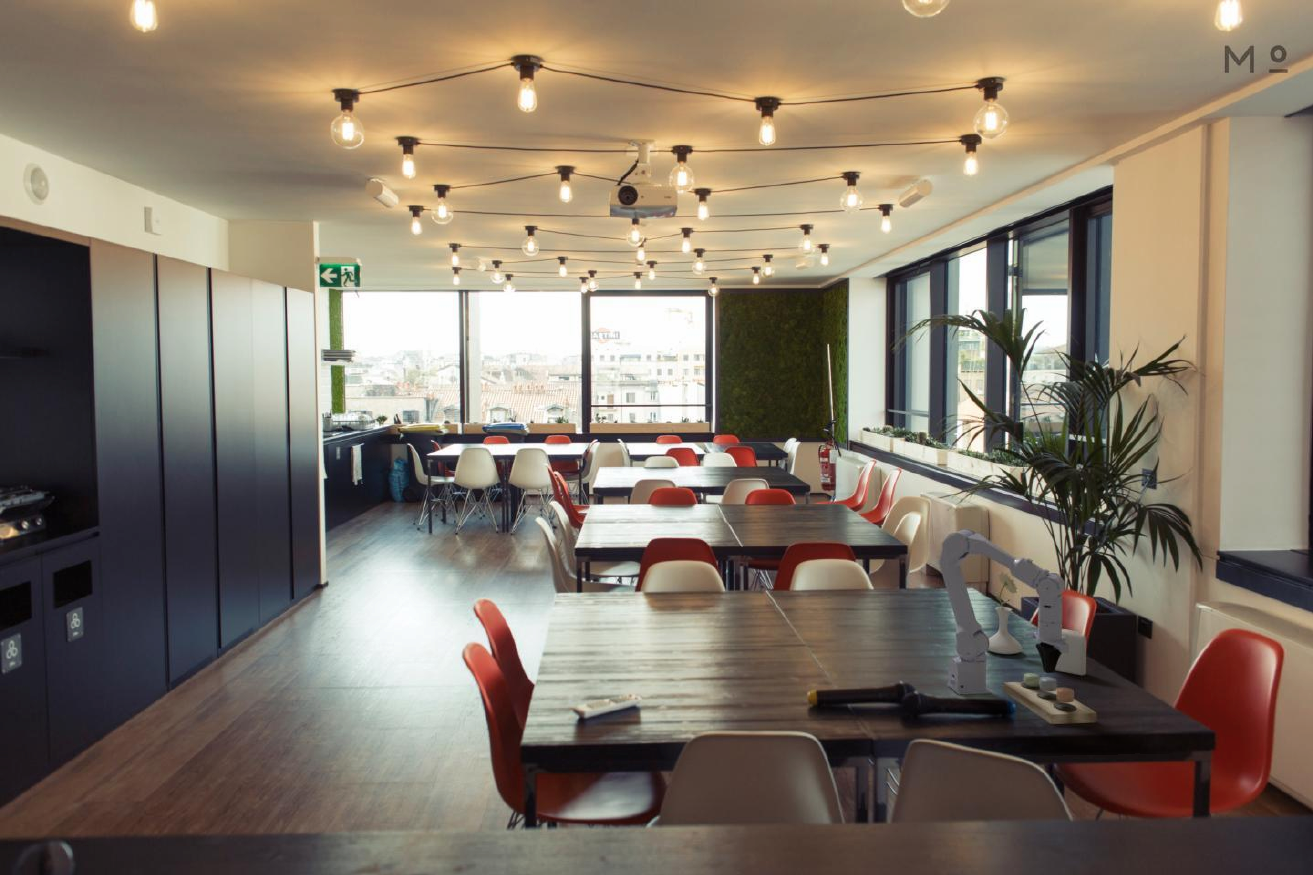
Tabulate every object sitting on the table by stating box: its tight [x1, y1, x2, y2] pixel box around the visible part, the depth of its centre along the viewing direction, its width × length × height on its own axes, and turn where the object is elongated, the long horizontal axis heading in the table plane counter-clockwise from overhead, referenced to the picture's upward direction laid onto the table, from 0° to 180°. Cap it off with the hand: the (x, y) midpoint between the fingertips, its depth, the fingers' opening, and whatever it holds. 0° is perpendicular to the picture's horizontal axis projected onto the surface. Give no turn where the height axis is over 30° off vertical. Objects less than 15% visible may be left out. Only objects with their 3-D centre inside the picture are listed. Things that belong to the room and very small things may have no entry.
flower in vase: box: [987, 571, 1023, 655], centre depth 280 cm, size 13×11×25 cm
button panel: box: [1002, 681, 1098, 725], centre depth 233 cm, size 12×24×3 cm, turn 6°
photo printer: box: [1055, 628, 1087, 676], centre depth 260 cm, size 10×4×12 cm, turn 47°
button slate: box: [1040, 676, 1057, 691], centre depth 232 cm, size 4×4×2 cm
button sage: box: [1023, 672, 1041, 687], centre depth 240 cm, size 4×4×2 cm
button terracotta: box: [1056, 686, 1075, 702], centre depth 224 cm, size 4×4×2 cm
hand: (1049, 672), depth 232 cm, fingers closed
